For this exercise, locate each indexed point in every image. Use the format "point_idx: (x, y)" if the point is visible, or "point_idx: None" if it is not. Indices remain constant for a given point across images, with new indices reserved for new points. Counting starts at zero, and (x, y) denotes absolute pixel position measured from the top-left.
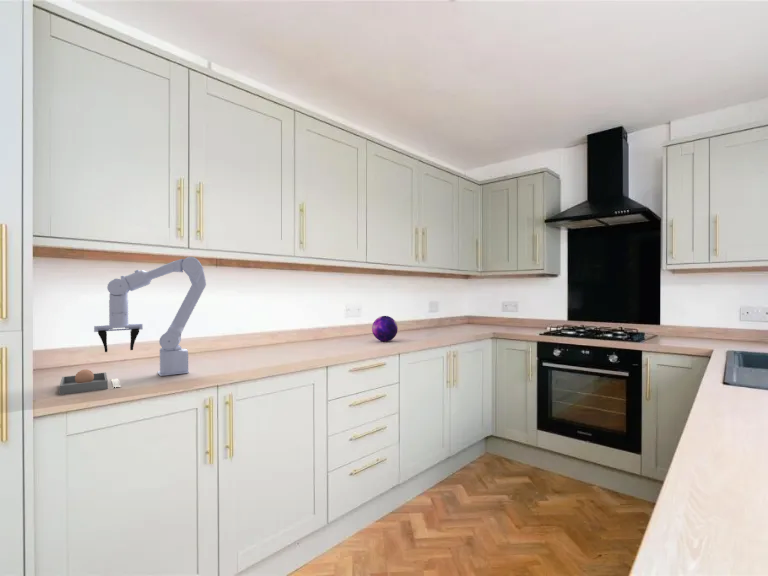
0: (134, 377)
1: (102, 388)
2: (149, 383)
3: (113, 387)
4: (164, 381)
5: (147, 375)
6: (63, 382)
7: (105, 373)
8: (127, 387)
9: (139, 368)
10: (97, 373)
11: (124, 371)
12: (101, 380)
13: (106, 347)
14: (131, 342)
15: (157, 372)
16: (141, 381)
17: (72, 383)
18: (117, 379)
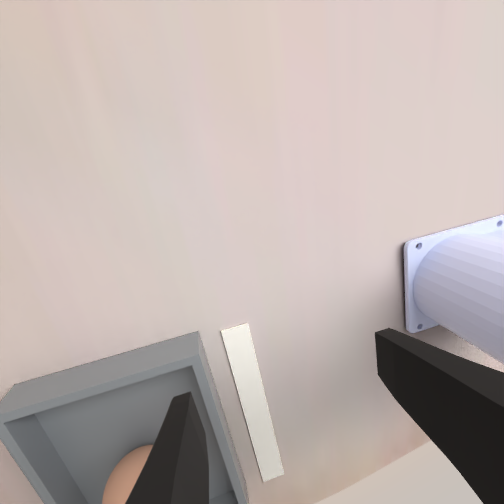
0: (312, 311)
1: (231, 491)
2: (364, 433)
3: (261, 474)
4: (407, 415)
5: (361, 283)
6: (58, 488)
7: (205, 383)
8: (303, 474)
9: (321, 5)
10: (161, 373)
11: (242, 92)
12: (192, 383)
13: (202, 492)
14: (442, 448)
15: (404, 253)
16: (340, 397)
17: (75, 414)
18: (249, 344)
